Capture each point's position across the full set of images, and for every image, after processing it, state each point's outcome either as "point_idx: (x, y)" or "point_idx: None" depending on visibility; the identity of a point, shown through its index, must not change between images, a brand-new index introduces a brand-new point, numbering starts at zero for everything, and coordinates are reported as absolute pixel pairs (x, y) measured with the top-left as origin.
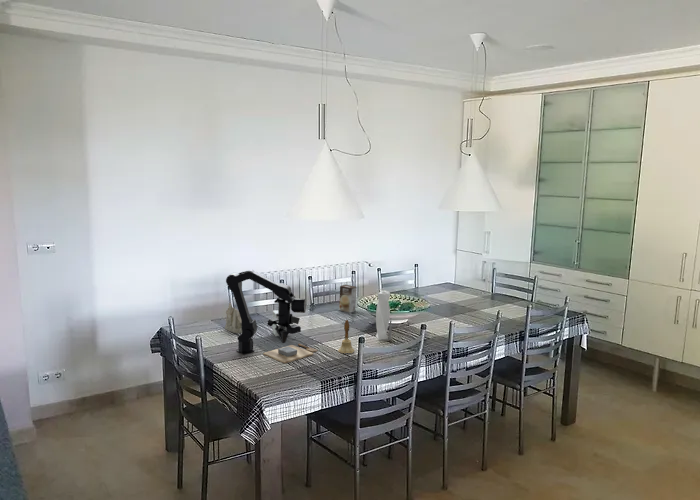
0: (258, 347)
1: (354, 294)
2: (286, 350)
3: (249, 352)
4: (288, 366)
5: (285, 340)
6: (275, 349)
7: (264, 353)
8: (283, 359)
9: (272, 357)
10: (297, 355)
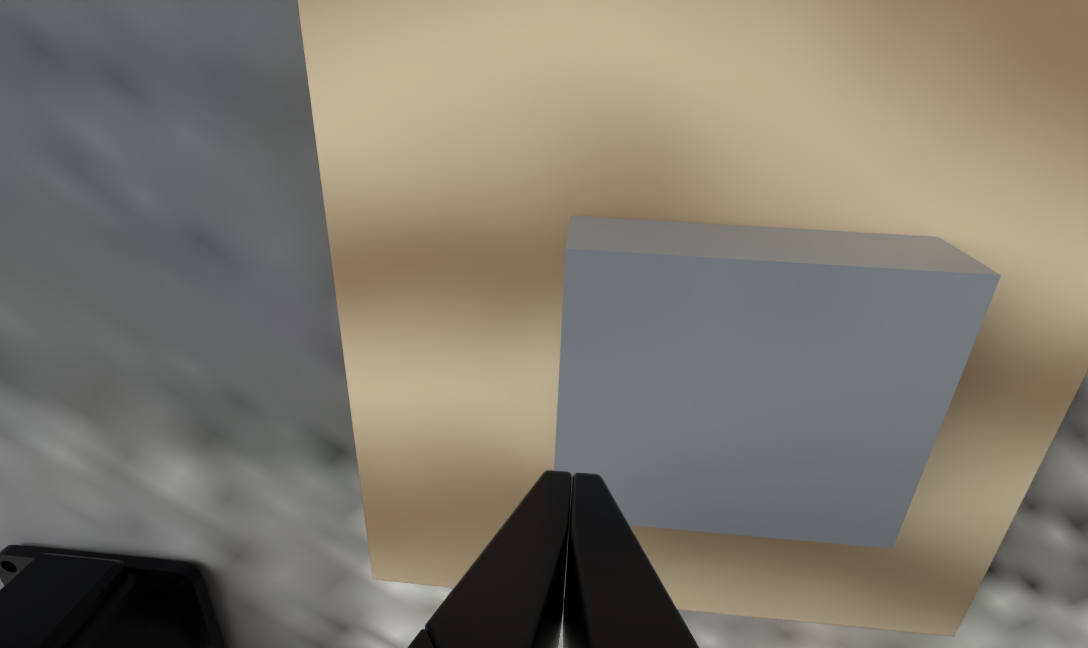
0: (31, 411)
1: None
2: (768, 474)
3: (217, 637)
4: (1068, 645)
5: (627, 537)
6: (346, 354)
7: (402, 578)
8: (864, 586)
9: None
10: None
